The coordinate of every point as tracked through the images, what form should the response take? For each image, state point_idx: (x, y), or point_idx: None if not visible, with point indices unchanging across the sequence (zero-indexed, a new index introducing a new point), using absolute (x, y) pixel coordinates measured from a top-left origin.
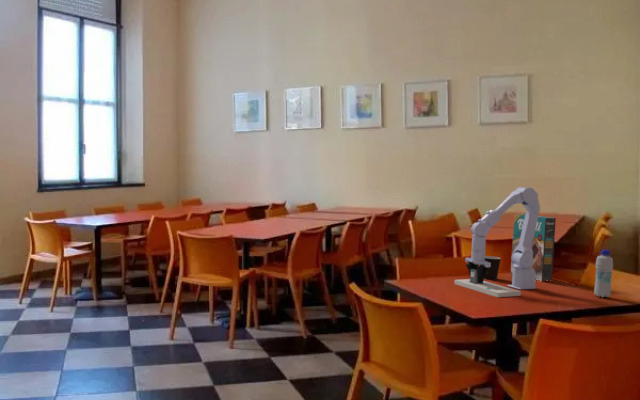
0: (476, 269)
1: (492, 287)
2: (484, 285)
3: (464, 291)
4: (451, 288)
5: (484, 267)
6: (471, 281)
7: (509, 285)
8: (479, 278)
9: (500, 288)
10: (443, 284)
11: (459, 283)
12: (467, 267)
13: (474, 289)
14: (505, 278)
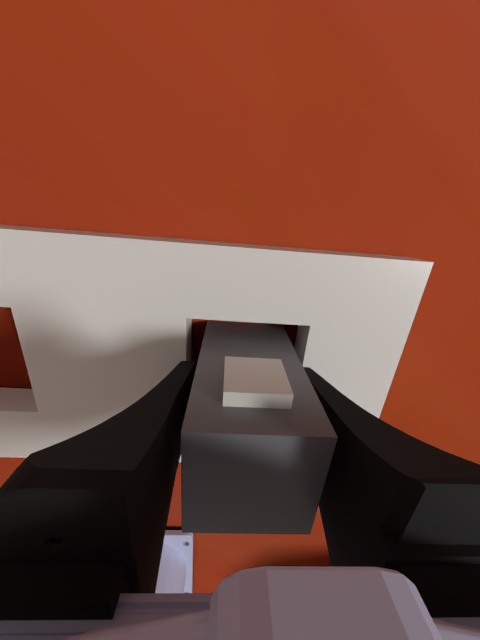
0: (269, 488)
1: (28, 364)
2: (104, 349)
3: (64, 50)
4: (251, 14)
5: (15, 561)
6: (268, 342)
7: (175, 537)
8: (164, 380)
9: (5, 406)
10: (453, 111)
11: (342, 252)
12: (421, 445)
13: (116, 234)
14: None
